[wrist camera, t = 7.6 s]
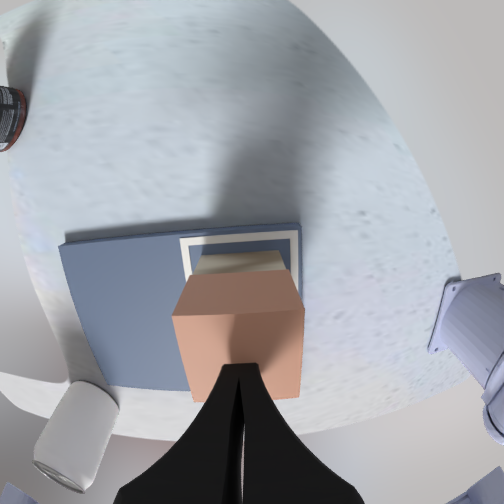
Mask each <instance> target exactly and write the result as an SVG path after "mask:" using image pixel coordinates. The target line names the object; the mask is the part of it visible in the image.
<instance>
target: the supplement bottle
mask: <svg viewBox="0 0 504 504" xmlns="http://www.w3.org/2000/svg"><path fill="white" fill-rule="evenodd" d="M25 116H26V102H25V98H24V95H23V93H22V92H21V91H20V90H17V89H14V88H10V87H4V86H0V152H3V151H6V150H8V149H9V148H10V147H11V146H12V145H13V144H14V143H15V141H16V140H17V138H18V137H19V135H20V132H21V130H22V127H23V124H24V120H25Z"/></svg>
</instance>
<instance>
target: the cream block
mask: <svg viewBox="0 0 504 504" xmlns="http://www.w3.org/2000/svg"><path fill="white" fill-rule="evenodd" d="M285 269H286V267H285V265H284V262H283V260H282V257H281V255H280V252H279V250H273V251H258V252H243V253H229V254H214V255H201V257H200V259H199V261H198V264H197V266H196V268H195V270H194V273H193V275H201V274H220V273H237V272H254V271H270V270H285Z"/></svg>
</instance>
